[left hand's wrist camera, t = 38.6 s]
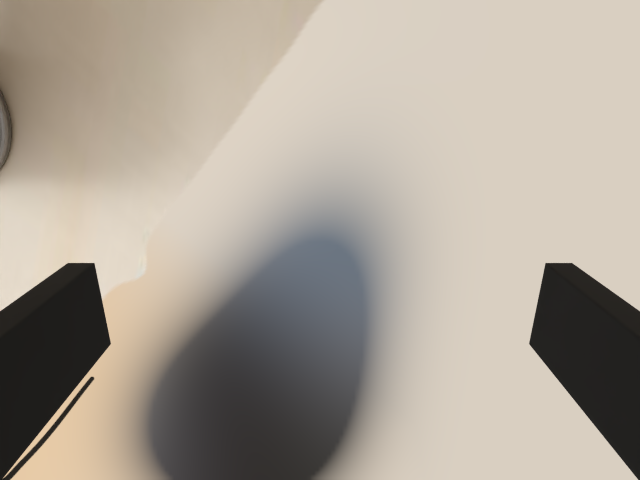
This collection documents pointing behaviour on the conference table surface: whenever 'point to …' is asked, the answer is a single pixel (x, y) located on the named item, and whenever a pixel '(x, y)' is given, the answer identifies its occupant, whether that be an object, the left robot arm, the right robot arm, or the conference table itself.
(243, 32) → the conference table surface
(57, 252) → the conference table surface
